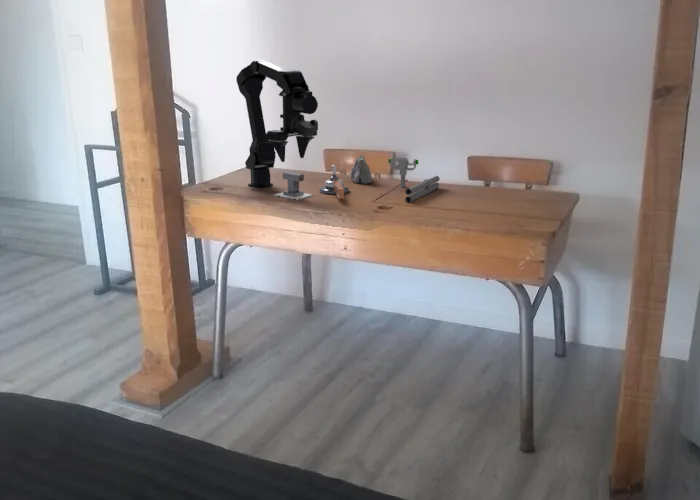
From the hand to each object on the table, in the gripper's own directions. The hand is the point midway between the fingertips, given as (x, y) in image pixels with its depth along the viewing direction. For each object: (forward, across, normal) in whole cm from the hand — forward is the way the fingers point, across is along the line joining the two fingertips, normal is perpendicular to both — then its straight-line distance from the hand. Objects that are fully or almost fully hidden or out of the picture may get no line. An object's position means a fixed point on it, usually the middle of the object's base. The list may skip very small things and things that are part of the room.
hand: (292, 159), depth 228 cm
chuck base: (+12, +14, -6) cm, 19 cm away
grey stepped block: (+11, 0, 0) cm, 11 cm away
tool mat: (+12, 0, 0) cm, 12 cm away
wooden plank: (+11, +9, -11) cm, 18 cm away
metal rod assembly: (+12, +28, -33) cm, 45 cm away
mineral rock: (+12, +35, -3) cm, 37 cm away
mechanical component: (+12, +35, -20) cm, 42 cm away
